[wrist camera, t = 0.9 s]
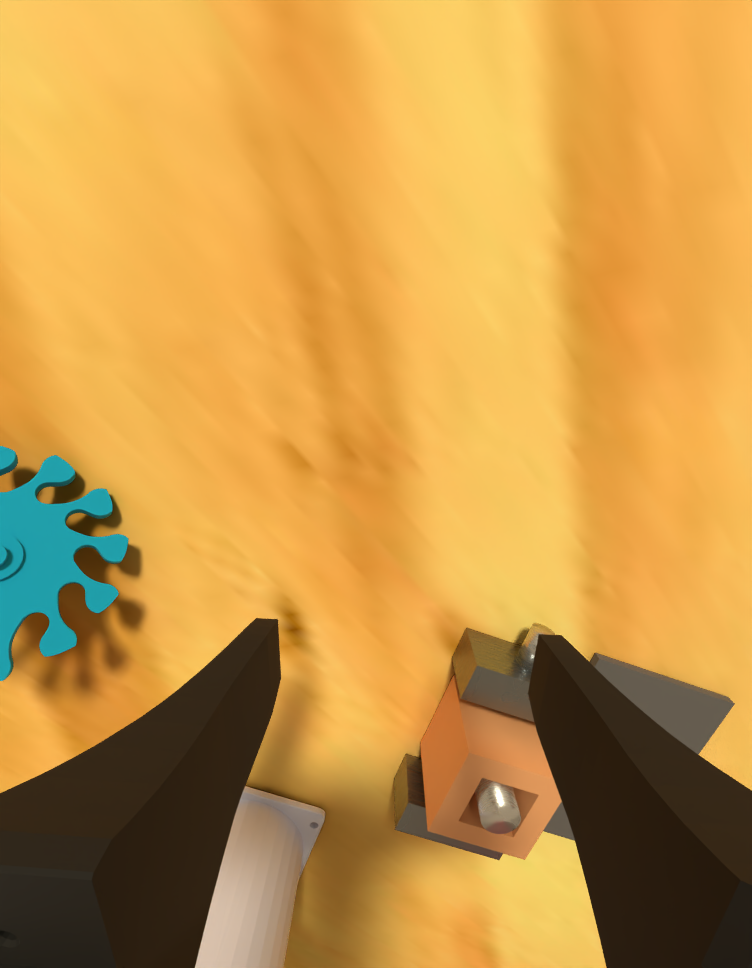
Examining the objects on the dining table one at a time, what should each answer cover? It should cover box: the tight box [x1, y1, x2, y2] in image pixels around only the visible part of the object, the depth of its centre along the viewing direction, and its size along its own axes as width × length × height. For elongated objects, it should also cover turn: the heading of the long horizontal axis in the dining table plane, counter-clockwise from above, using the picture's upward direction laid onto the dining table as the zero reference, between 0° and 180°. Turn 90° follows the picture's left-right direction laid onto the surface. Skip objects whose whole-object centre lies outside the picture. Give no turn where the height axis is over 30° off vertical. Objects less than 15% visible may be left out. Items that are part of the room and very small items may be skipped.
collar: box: [420, 675, 561, 860], centre depth 23 cm, size 5×5×5 cm
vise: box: [394, 623, 555, 860], centre depth 23 cm, size 13×6×6 cm, turn 160°
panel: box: [543, 653, 734, 840], centre depth 26 cm, size 12×8×1 cm, turn 160°
